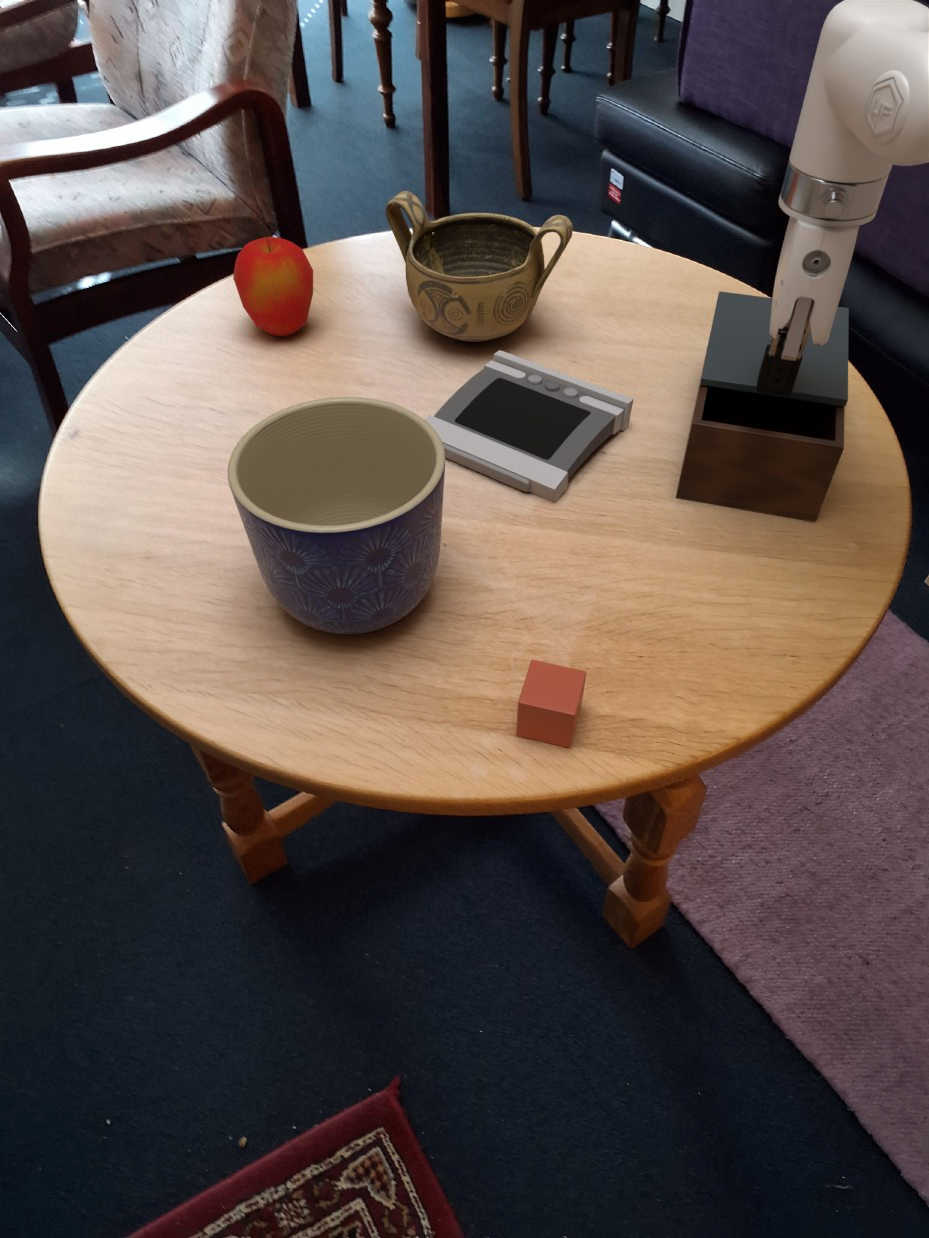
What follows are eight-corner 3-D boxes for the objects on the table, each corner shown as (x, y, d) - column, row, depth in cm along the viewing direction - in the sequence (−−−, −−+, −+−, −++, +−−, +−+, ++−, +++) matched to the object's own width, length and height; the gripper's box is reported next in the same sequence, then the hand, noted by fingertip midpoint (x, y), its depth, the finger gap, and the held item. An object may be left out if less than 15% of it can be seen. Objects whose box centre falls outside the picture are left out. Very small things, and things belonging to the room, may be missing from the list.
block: (581, 705, 73) (586, 671, 69) (570, 748, 70) (575, 715, 66) (528, 693, 73) (531, 658, 70) (515, 735, 71) (517, 702, 67)
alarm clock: (633, 398, 95) (555, 468, 86) (626, 436, 99) (550, 507, 89) (499, 350, 102) (413, 409, 92) (497, 386, 105) (413, 447, 96)
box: (820, 419, 98) (845, 346, 92) (815, 522, 87) (844, 447, 80) (695, 400, 101) (711, 327, 94) (675, 497, 90) (691, 423, 83)
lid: (846, 314, 96) (858, 278, 93) (845, 407, 84) (859, 369, 81) (717, 297, 98) (725, 261, 95) (699, 385, 87) (707, 347, 84)
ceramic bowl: (582, 314, 114) (594, 194, 103) (535, 383, 104) (542, 258, 92) (424, 281, 120) (419, 164, 109) (364, 343, 110) (352, 221, 98)
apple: (239, 350, 109) (218, 254, 100) (253, 312, 115) (234, 218, 106) (315, 350, 109) (301, 254, 100) (325, 312, 115) (312, 219, 106)
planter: (377, 506, 89) (363, 372, 78) (487, 601, 80) (489, 466, 69) (226, 584, 82) (187, 449, 71) (329, 697, 73) (303, 564, 62)
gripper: (884, 236, 65) (812, 442, 78) (880, 157, 74) (816, 353, 88) (778, 224, 66) (725, 428, 80) (787, 147, 76) (739, 342, 89)
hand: (773, 388), depth 84 cm, fingers closed
